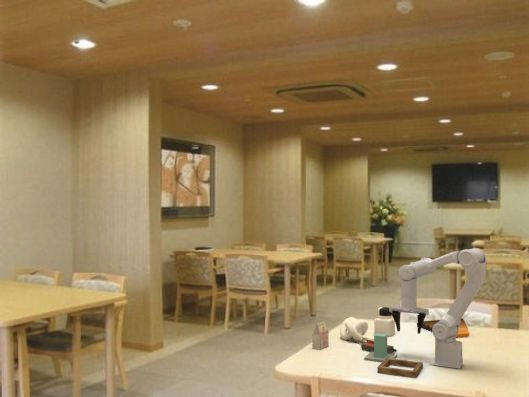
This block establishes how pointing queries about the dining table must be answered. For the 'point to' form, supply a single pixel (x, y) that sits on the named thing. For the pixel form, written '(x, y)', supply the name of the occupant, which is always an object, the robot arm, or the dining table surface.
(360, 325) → the cream rounded sculpture
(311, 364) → the dining table surface
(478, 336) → the dining table surface
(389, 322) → the medicine bottle
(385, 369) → the brown square frame
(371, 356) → the ceramic tile
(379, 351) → the green block
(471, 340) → the dining table surface
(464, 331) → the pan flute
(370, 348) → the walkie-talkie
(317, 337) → the tea box
